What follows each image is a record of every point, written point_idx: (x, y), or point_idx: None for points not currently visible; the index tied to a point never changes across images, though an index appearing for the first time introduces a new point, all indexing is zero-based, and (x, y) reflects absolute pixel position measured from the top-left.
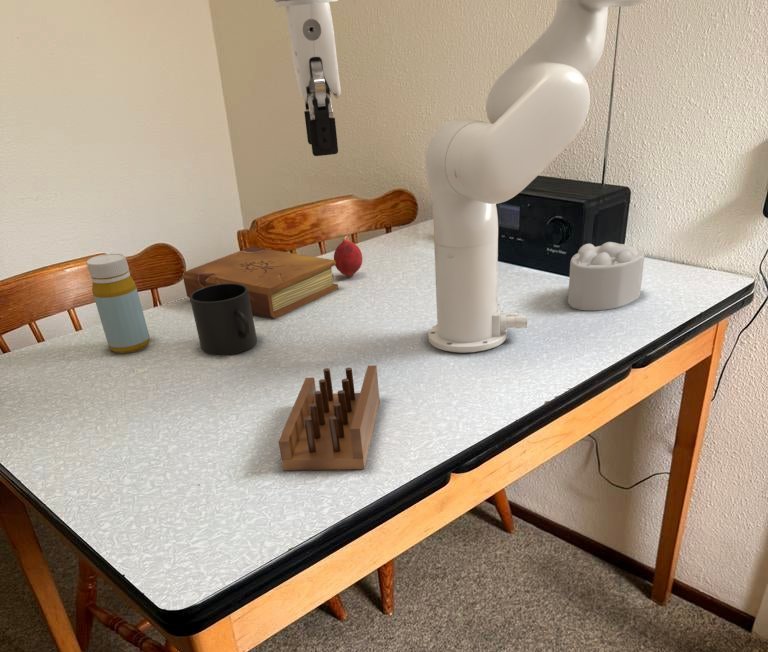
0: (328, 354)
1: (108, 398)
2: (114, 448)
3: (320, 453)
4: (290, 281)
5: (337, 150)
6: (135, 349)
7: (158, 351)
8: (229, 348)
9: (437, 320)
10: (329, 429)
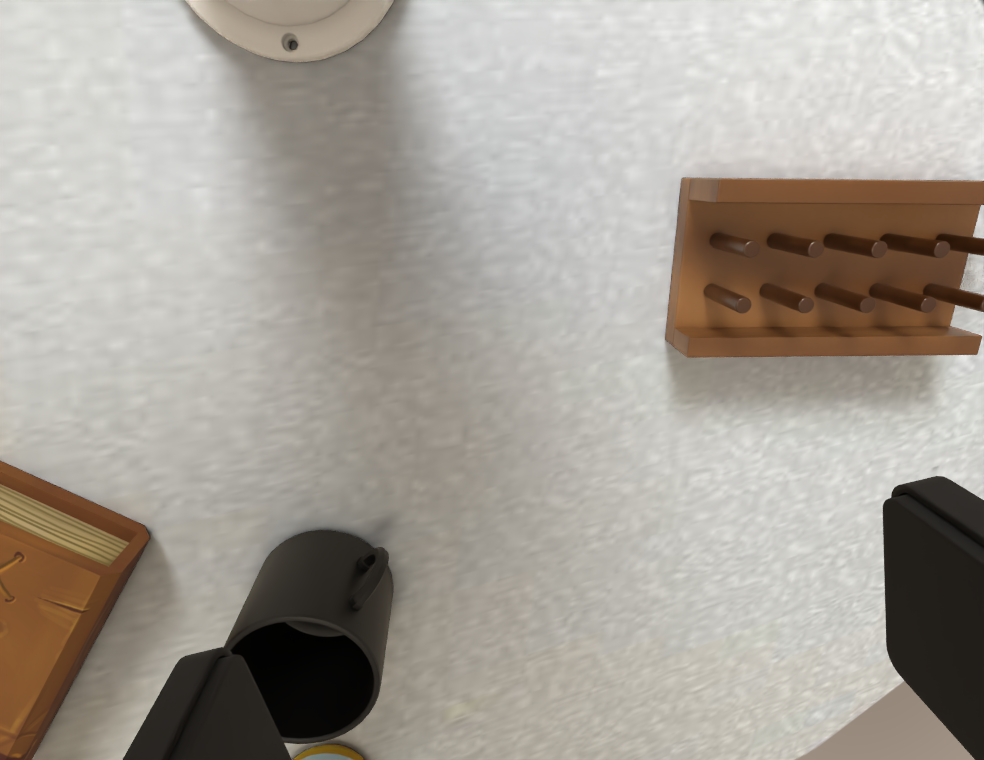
0: (391, 343)
1: (581, 717)
2: (778, 637)
3: (943, 272)
4: (15, 534)
5: (944, 485)
6: (360, 756)
7: None
8: (387, 576)
9: (288, 14)
10: (850, 270)
